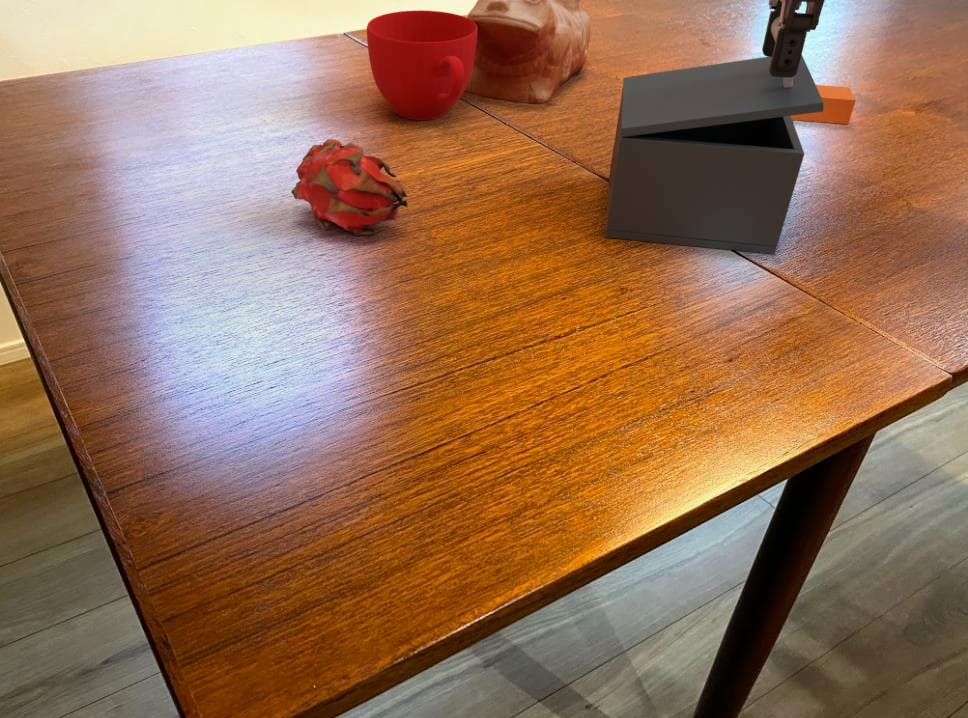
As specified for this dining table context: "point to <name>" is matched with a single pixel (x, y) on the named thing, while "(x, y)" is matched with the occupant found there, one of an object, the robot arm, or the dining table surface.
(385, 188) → the dragon fruit
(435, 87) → the ceramic cup
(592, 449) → the dining table surface
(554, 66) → the ceramic vessel
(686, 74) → the box lid
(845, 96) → the packet
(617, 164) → the storage bin
